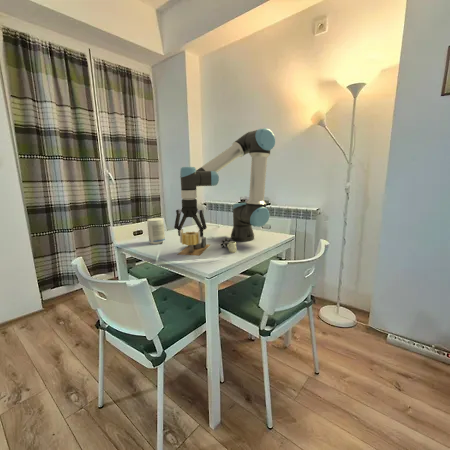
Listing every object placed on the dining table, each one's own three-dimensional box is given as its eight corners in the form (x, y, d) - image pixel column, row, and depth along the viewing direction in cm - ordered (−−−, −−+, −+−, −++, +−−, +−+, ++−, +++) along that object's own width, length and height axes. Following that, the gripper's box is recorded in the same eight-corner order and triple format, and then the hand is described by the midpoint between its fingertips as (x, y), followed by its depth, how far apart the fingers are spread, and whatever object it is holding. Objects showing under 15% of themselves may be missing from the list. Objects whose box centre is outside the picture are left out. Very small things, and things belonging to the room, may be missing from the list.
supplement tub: (167, 241, 159) (166, 218, 157) (159, 245, 151) (158, 220, 148) (154, 240, 162) (152, 217, 159) (145, 244, 153) (143, 220, 150)
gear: (205, 243, 145) (204, 235, 144) (206, 248, 136) (206, 239, 135) (189, 245, 144) (188, 236, 143) (189, 249, 135) (189, 240, 134)
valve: (240, 255, 129) (231, 248, 140) (240, 242, 128) (231, 237, 139) (228, 256, 127) (220, 250, 138) (228, 244, 125) (220, 238, 136)
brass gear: (196, 245, 124) (196, 235, 123) (179, 244, 126) (178, 235, 125) (202, 241, 133) (201, 231, 132) (185, 240, 135) (185, 231, 134)
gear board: (210, 247, 144) (210, 232, 142) (199, 258, 125) (199, 241, 123) (190, 246, 146) (190, 232, 145) (177, 257, 127) (176, 241, 126)
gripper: (212, 198, 126) (213, 241, 131) (171, 197, 131) (174, 239, 135) (208, 199, 119) (209, 245, 124) (165, 199, 124) (168, 243, 128)
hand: (191, 242), depth 130 cm, fingers closed on brass gear, 9 cm apart
